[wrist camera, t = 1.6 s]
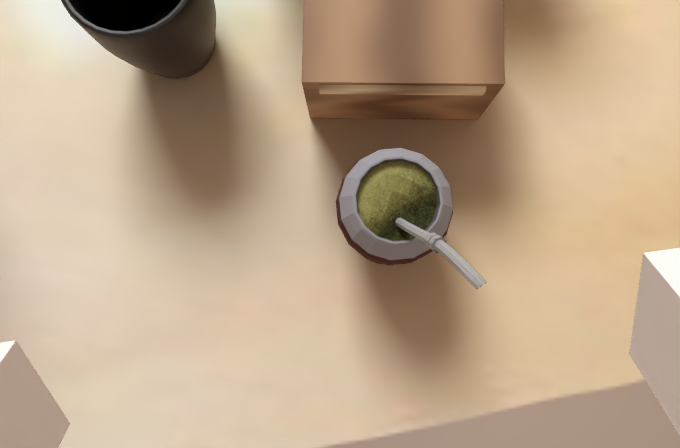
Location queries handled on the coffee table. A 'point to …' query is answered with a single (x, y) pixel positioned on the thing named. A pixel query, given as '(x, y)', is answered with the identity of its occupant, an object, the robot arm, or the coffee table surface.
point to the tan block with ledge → (402, 58)
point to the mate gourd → (398, 210)
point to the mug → (151, 32)
